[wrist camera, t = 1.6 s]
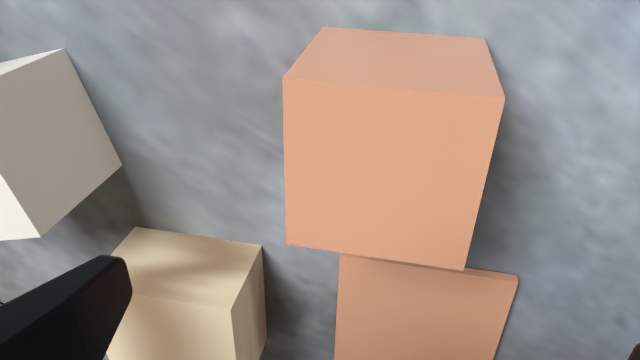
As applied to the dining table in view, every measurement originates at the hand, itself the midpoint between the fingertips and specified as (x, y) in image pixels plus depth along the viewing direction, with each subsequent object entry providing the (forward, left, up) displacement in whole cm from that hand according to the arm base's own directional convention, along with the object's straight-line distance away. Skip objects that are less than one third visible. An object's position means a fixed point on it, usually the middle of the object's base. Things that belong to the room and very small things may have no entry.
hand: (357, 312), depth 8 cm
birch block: (+8, +10, -9) cm, 16 cm away
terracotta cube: (0, 0, -9) cm, 9 cm away
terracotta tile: (-2, +10, -9) cm, 14 cm away
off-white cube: (+14, +2, -9) cm, 17 cm away
